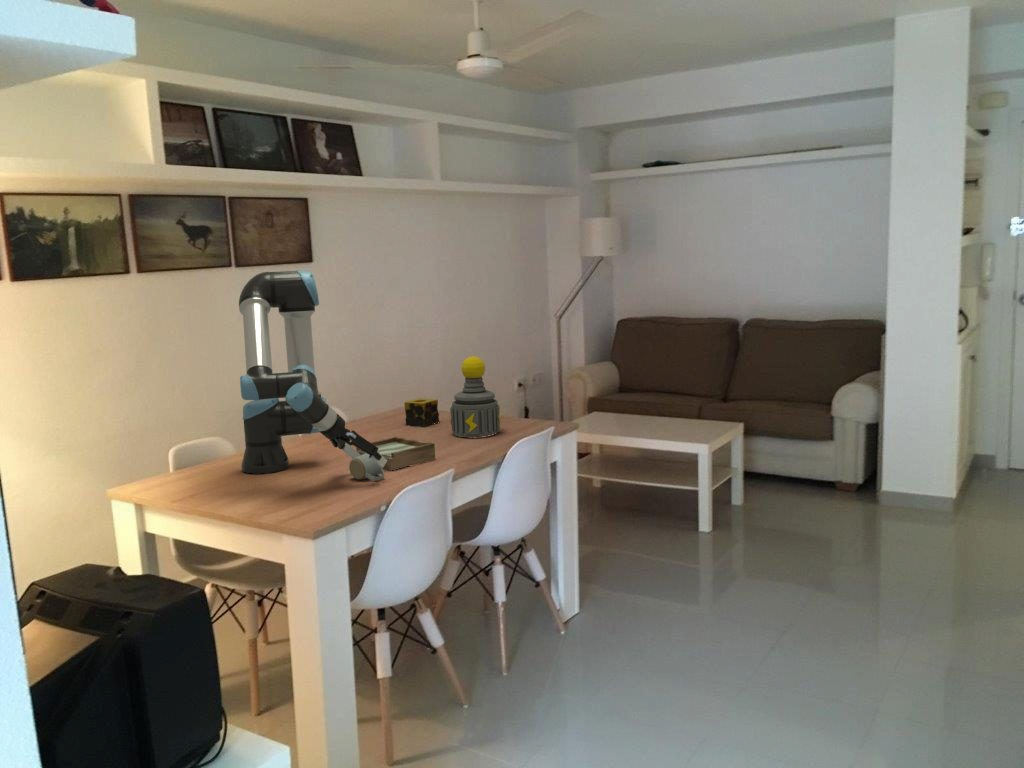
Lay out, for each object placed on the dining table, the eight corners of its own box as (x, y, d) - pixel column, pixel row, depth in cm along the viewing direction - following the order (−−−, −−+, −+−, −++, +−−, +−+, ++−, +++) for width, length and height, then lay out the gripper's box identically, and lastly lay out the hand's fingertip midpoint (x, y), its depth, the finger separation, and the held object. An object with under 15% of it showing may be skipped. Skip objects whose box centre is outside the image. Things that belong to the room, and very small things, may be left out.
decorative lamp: (503, 428, 332) (500, 352, 328) (497, 438, 314) (494, 358, 309) (456, 429, 335) (452, 354, 330) (447, 439, 316) (443, 360, 312)
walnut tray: (353, 462, 285) (352, 446, 284) (397, 451, 298) (396, 436, 298) (391, 471, 271) (390, 454, 270) (435, 459, 285) (434, 443, 284)
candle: (440, 423, 348) (438, 399, 347) (424, 427, 340) (423, 403, 338) (420, 421, 353) (419, 397, 352) (405, 425, 345) (403, 401, 343)
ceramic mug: (347, 479, 263) (346, 455, 262) (366, 473, 270) (365, 449, 269) (372, 484, 257) (371, 459, 256) (391, 477, 264) (390, 453, 263)
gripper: (297, 427, 260) (340, 465, 273) (346, 437, 243) (389, 476, 256) (310, 408, 263) (353, 446, 276) (360, 416, 246) (402, 456, 259)
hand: (370, 461), depth 266 cm, fingers open, 13 cm apart
